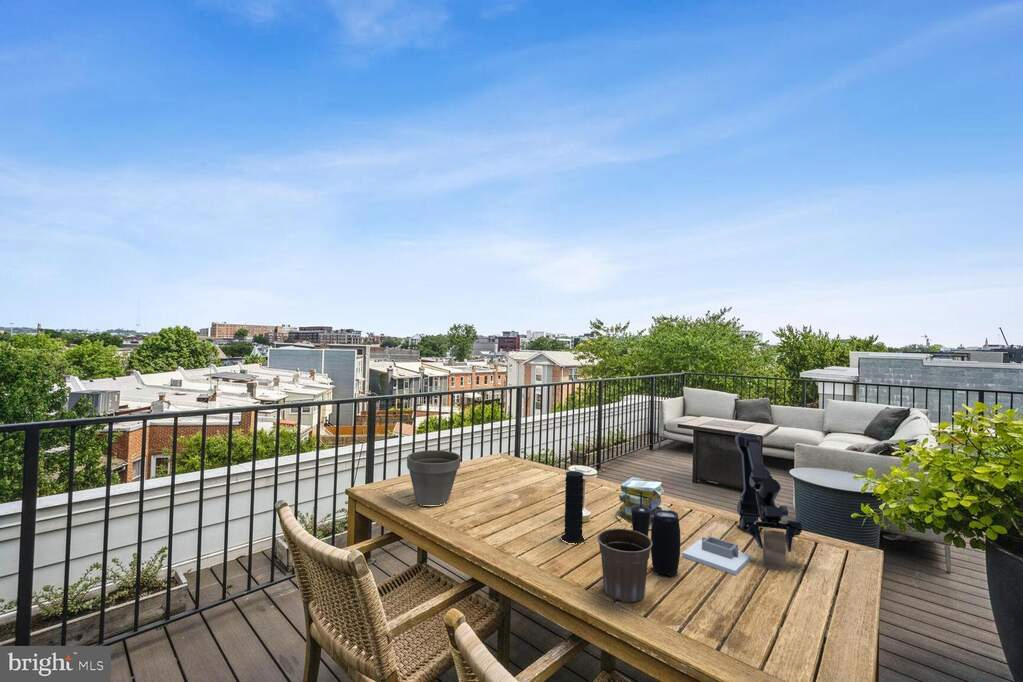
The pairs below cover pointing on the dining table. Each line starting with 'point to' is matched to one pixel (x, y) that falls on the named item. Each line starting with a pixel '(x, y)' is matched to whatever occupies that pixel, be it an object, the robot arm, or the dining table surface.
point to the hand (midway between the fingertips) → (775, 549)
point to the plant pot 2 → (624, 563)
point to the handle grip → (573, 507)
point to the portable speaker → (665, 542)
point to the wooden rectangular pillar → (774, 550)
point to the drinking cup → (640, 517)
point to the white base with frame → (717, 554)
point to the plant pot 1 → (433, 475)
